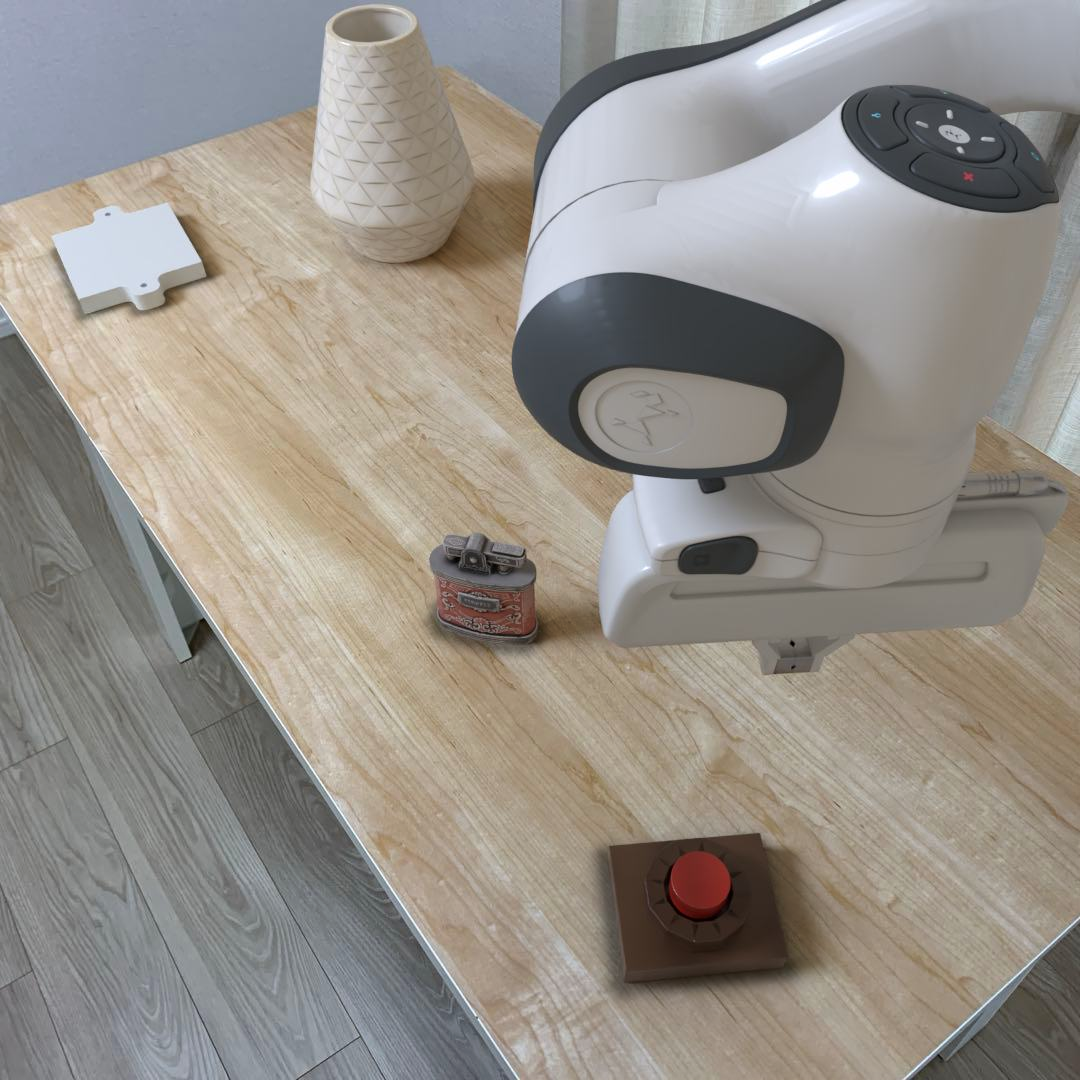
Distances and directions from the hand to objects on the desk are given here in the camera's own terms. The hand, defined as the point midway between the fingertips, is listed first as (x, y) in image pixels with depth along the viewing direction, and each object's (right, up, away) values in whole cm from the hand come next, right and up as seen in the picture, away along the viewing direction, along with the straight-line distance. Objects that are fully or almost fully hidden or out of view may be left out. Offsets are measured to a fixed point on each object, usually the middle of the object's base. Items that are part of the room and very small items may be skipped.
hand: (786, 662), depth 55 cm
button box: (-3, -18, +13) cm, 22 cm away
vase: (-29, +40, +62) cm, 79 cm away
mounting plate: (-58, +36, +59) cm, 90 cm away
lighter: (-17, 0, +28) cm, 32 cm away
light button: (-3, -15, +10) cm, 18 cm away
